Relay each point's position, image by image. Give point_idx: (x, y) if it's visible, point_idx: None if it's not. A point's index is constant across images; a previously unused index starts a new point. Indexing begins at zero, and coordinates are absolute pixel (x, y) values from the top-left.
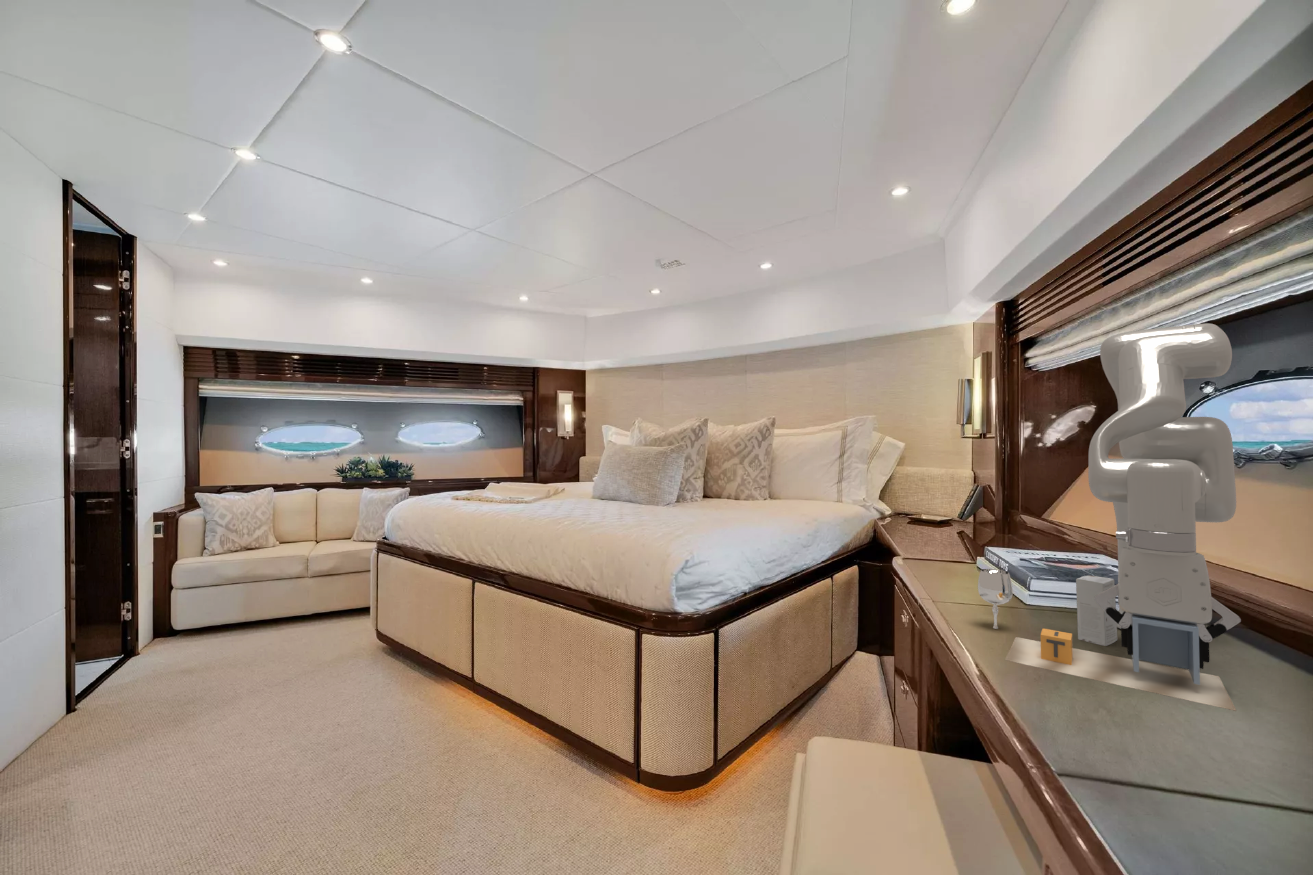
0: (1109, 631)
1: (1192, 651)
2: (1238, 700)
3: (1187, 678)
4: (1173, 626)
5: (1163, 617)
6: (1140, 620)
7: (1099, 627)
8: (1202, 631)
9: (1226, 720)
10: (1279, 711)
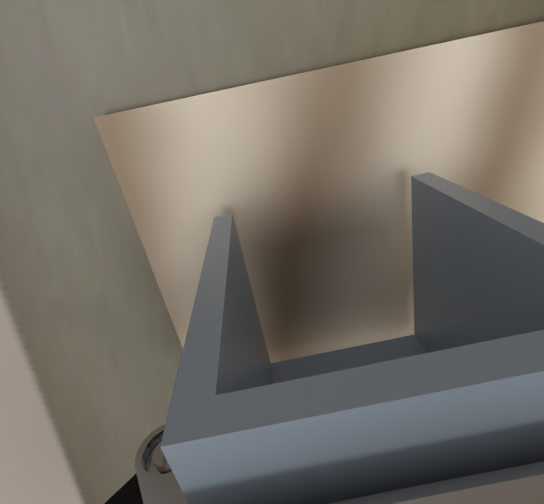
0: None
1: (235, 313)
2: (148, 307)
3: (270, 336)
4: (374, 385)
5: (502, 483)
6: None
7: None
8: (180, 492)
9: (120, 56)
10: (55, 305)
